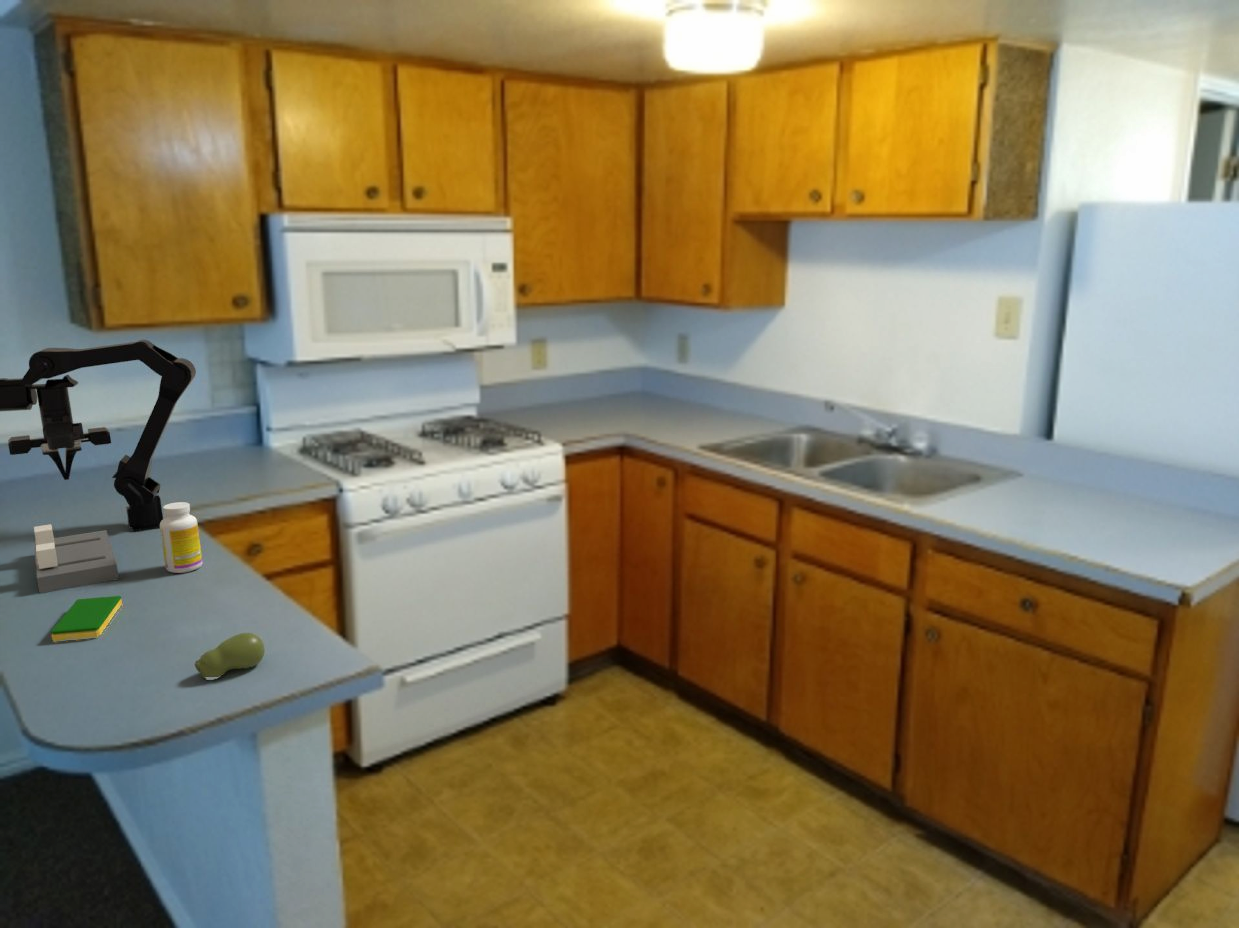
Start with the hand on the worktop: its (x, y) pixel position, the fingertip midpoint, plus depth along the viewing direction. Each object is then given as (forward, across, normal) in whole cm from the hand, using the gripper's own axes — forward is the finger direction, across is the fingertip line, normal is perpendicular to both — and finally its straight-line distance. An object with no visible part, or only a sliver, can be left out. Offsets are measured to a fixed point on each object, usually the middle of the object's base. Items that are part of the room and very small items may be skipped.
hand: (66, 479), depth 205 cm
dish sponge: (+13, -1, -56) cm, 58 cm away
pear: (+12, +17, -88) cm, 90 cm away
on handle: (+9, -6, -31) cm, 33 cm away
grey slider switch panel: (+12, -1, -24) cm, 27 cm away
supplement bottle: (+12, +17, -37) cm, 43 cm away
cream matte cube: (+9, -5, -18) cm, 21 cm away
